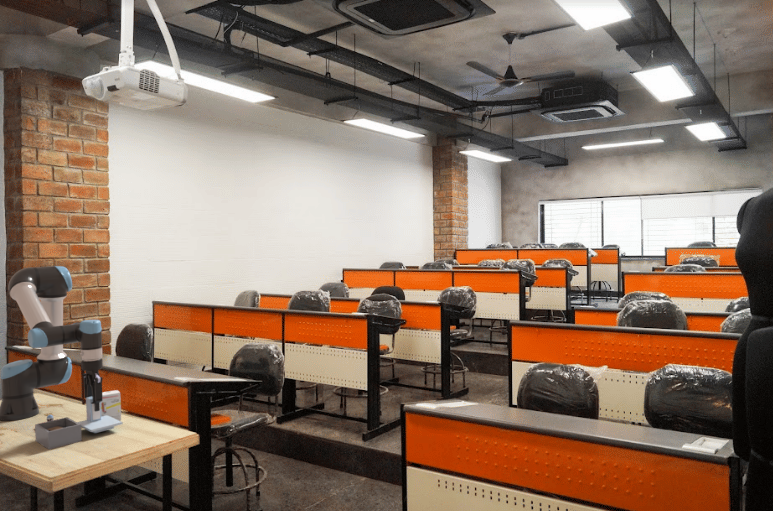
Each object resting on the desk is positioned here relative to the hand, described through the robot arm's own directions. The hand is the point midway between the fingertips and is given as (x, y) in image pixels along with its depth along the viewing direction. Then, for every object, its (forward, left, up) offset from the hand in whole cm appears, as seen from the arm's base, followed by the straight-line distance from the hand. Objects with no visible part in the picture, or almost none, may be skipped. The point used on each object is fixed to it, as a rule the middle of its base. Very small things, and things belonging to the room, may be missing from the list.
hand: (94, 417), depth 226 cm
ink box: (-8, +9, -5) cm, 13 cm away
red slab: (-15, -11, -6) cm, 19 cm away
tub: (+4, -14, -5) cm, 16 cm away
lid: (+5, 0, -3) cm, 6 cm away
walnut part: (+1, -14, -4) cm, 15 cm away
